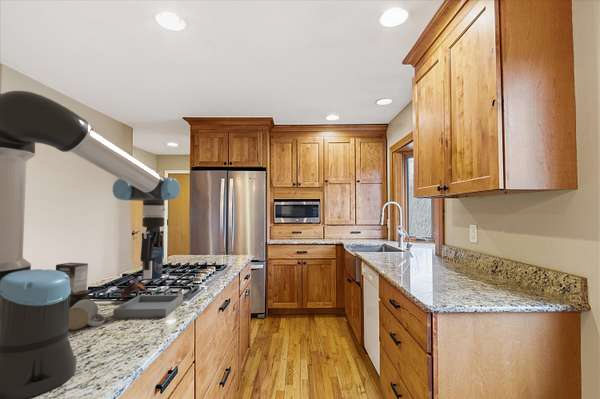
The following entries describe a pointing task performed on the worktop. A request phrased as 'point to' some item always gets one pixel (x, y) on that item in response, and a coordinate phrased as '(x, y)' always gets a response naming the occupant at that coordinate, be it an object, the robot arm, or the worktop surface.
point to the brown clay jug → (132, 289)
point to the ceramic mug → (84, 315)
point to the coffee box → (75, 274)
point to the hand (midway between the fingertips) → (152, 276)
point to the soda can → (155, 264)
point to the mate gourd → (78, 297)
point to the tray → (148, 306)
